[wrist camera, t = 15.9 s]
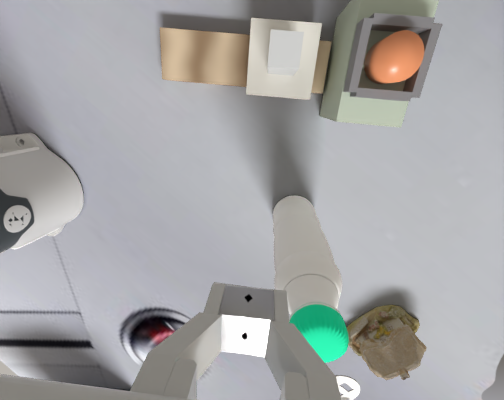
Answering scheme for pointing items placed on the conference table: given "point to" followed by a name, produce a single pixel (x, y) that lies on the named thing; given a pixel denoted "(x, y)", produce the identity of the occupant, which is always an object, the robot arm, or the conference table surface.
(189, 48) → the block
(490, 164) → the conference table surface
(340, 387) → the cable organizer
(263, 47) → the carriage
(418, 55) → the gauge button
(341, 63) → the end cabinet
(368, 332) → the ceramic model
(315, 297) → the water bottle
